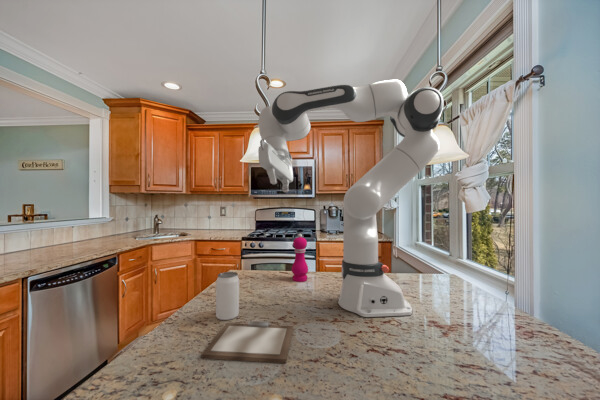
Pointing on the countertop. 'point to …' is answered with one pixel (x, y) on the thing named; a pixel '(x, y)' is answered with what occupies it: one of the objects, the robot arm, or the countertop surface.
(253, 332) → the clipboard
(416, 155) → the robot arm
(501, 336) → the countertop surface
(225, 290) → the can
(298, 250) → the pepper mill
